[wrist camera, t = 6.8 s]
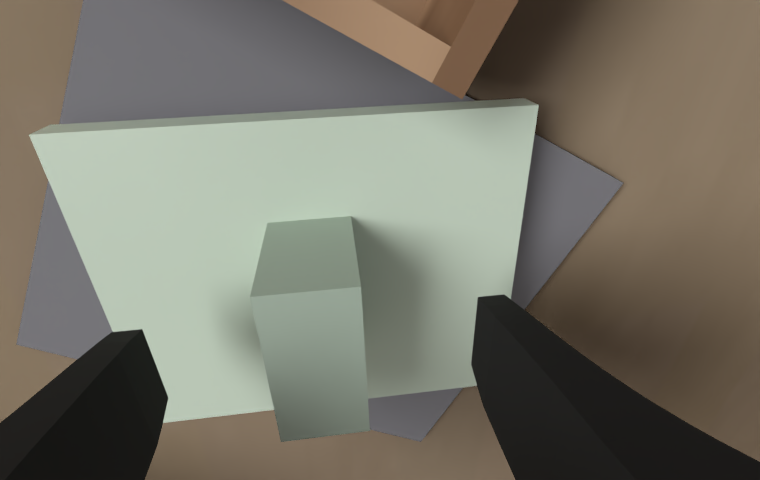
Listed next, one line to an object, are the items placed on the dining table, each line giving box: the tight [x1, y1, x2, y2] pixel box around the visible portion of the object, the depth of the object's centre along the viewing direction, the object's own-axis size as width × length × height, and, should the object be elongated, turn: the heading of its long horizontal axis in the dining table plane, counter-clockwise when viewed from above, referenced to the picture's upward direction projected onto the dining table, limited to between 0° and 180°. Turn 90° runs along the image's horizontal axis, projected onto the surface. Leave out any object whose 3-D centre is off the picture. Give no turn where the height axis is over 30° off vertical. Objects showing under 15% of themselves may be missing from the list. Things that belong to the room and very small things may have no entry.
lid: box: [29, 98, 539, 442], centre depth 11 cm, size 11×9×4 cm
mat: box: [16, 0, 623, 442], centre depth 13 cm, size 14×12×1 cm
